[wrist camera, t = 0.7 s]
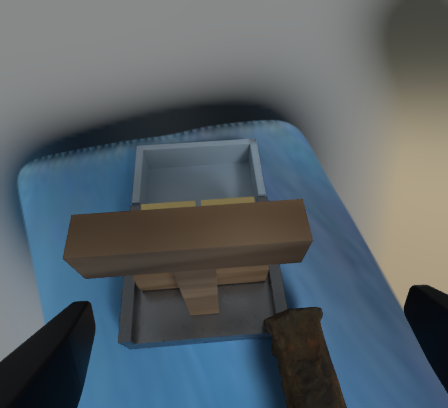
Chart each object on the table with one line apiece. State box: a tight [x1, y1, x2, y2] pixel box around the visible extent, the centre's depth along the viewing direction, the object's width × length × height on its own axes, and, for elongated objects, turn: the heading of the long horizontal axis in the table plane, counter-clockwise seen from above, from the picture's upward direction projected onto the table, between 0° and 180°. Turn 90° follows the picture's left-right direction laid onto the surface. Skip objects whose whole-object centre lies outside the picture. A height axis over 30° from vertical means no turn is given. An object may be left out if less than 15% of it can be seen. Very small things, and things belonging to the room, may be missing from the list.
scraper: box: [63, 199, 313, 315], centre depth 18 cm, size 3×10×11 cm, turn 94°
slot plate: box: [118, 197, 287, 349], centre depth 25 cm, size 10×11×3 cm
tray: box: [132, 138, 266, 206], centre depth 29 cm, size 6×11×3 cm, turn 94°
